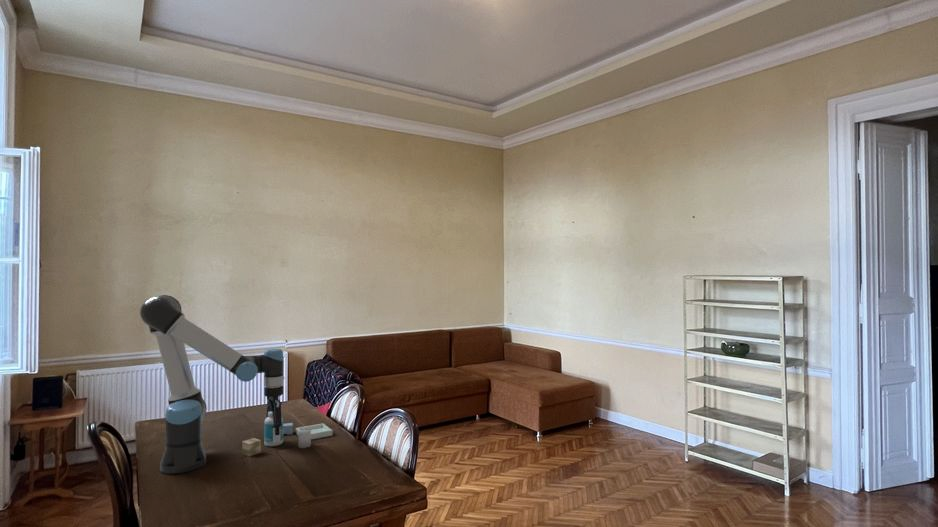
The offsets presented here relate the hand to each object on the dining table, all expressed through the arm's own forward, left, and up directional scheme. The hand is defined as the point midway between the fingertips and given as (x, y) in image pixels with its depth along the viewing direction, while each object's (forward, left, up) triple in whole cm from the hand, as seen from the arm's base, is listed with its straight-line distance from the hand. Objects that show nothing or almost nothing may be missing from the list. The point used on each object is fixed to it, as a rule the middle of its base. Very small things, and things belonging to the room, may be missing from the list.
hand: (273, 439), depth 215 cm
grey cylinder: (+10, -10, -2) cm, 14 cm away
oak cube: (-10, -6, -2) cm, 12 cm away
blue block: (+8, +12, -2) cm, 15 cm away
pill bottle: (0, 0, -2) cm, 2 cm away
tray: (+18, +3, -2) cm, 18 cm away
